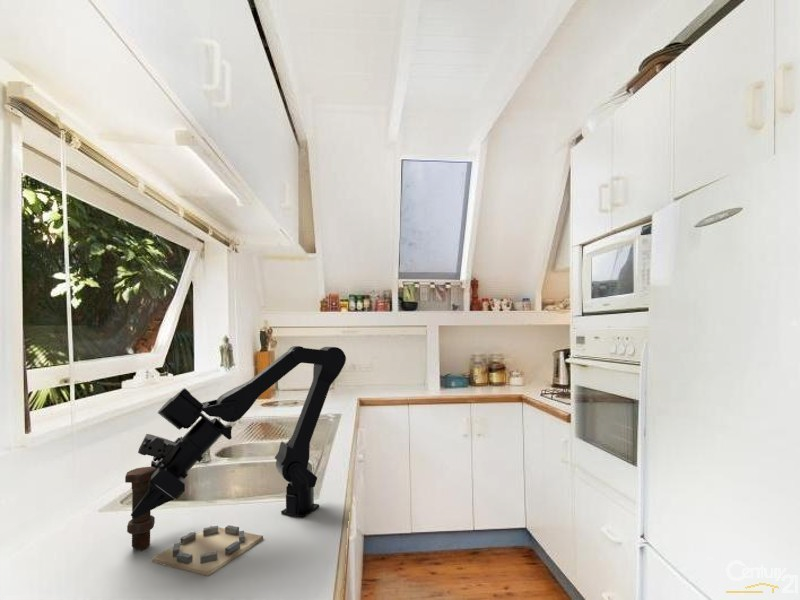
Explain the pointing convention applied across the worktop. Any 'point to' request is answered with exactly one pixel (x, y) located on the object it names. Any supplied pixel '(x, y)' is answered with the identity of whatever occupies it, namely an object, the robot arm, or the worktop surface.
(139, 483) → the bolt
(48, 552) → the worktop surface
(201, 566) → the tan flat square board
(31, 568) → the worktop surface
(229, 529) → the castellated ring
